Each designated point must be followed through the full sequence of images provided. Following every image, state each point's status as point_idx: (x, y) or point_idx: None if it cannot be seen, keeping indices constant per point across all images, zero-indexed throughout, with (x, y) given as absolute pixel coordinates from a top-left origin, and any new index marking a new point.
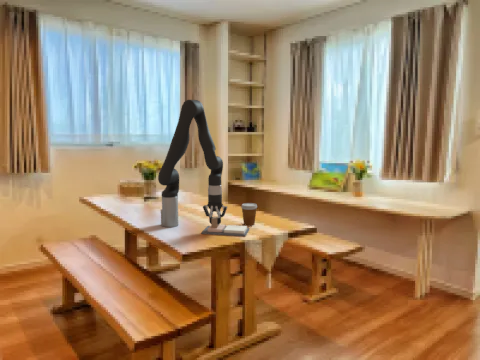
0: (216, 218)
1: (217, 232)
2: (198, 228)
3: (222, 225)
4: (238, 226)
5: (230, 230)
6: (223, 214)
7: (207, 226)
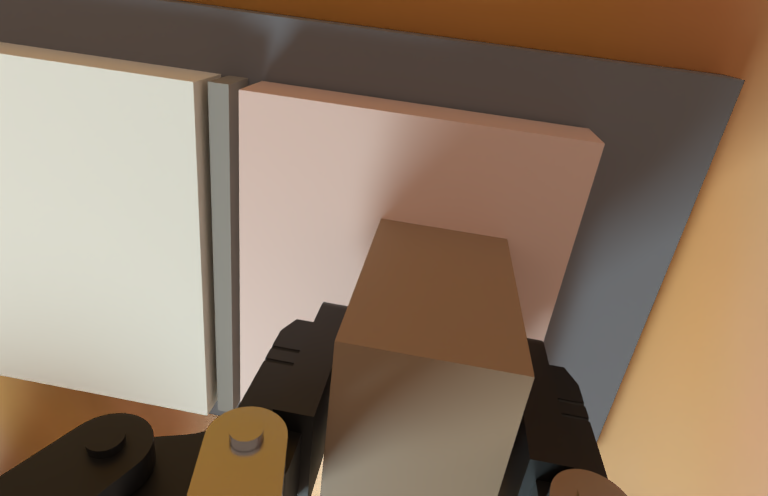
0: (354, 399)
1: (357, 70)
2: (750, 426)
3: None
4: (4, 329)
5: (50, 61)
6: (15, 486)
7: None
